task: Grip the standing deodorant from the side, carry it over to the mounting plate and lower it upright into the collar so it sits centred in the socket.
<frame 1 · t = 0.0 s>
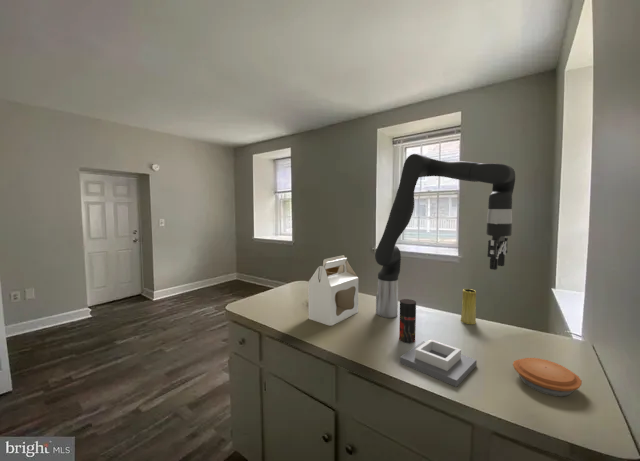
hand: (497, 267, 103), 29 cm above the worktop, tool pointing down, fingers open, 8 cm apart
pie: (544, 384, 83), on the worktop
deodorant: (407, 340, 111), on the worktop
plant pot: (337, 297, 165), on the worktop
camera mount: (437, 364, 94), on the worktop
vase: (468, 322, 128), on the worktop
gable box: (334, 316, 137), on the worktop
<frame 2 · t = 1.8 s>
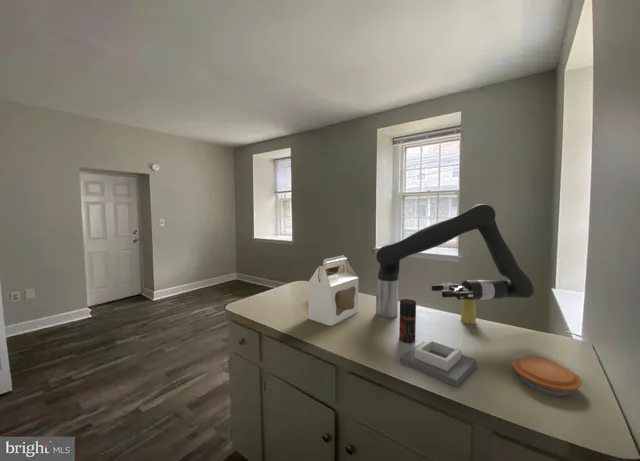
hand: (436, 291, 111), 19 cm above the worktop, tool horizontal, fingers open, 8 cm apart
nothing on the worktop moved.
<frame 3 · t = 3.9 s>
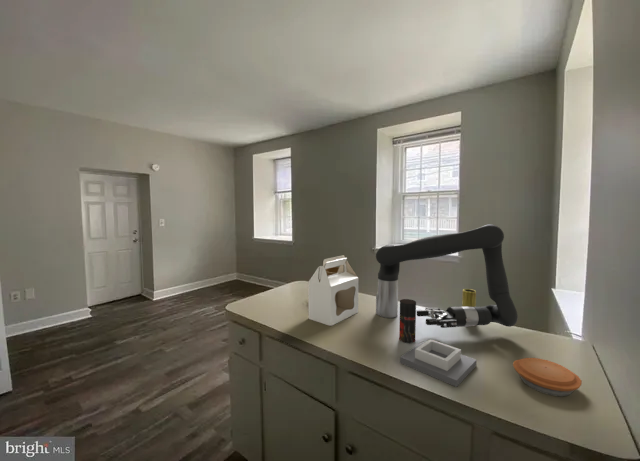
hand: (421, 317, 111), 9 cm above the worktop, tool horizontal, fingers open, 8 cm apart
nothing on the worktop moved.
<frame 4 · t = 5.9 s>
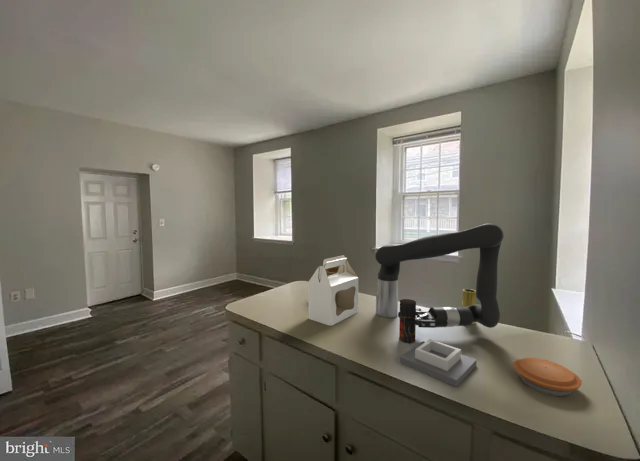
hand: (401, 318, 111), 9 cm above the worktop, tool horizontal, fingers closed on deodorant, 6 cm apart
deodorant: (407, 340, 111), on the worktop, touching gripper
everything else where it was.
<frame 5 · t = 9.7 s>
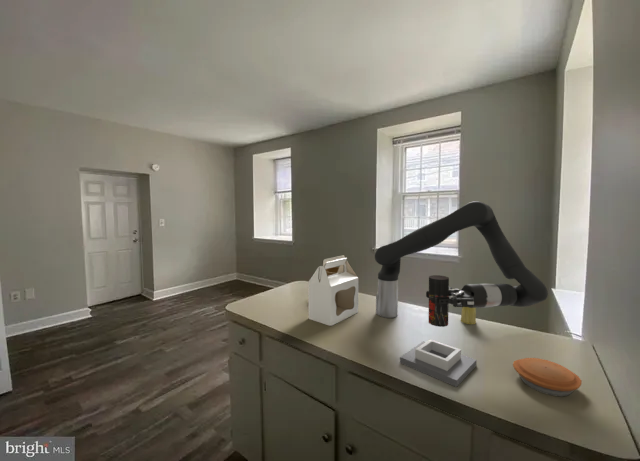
hand: (431, 297, 93), 22 cm above the worktop, tool horizontal, fingers closed on deodorant, 6 cm apart
deodorant: (438, 323, 94), point 13 cm above the worktop, touching gripper
everything else where it was.
when the fingers open (12 cm above the worktop, at t = 13.2 s): deodorant drops 1 cm, resting on camera mount.
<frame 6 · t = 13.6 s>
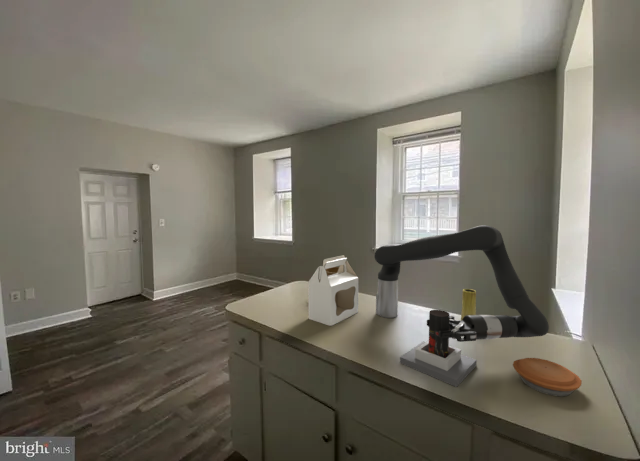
hand: (432, 328, 93), 12 cm above the worktop, tool horizontal, fingers open, 8 cm apart
deodorant: (438, 358, 94), point 2 cm above the worktop, touching camera mount
everything else where it was.
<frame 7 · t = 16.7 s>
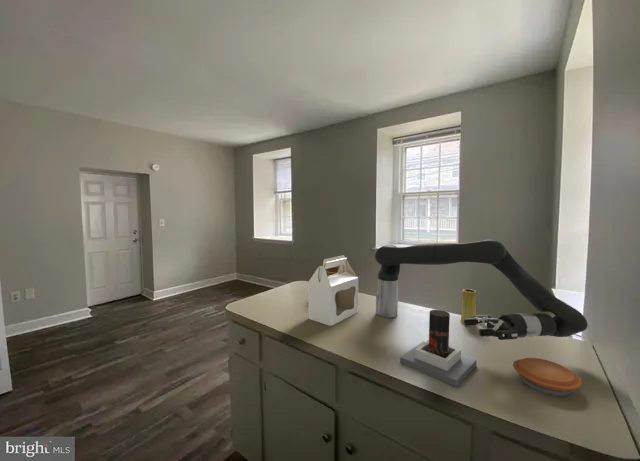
hand: (471, 327, 94), 12 cm above the worktop, tool horizontal, fingers open, 8 cm apart
nothing on the worktop moved.
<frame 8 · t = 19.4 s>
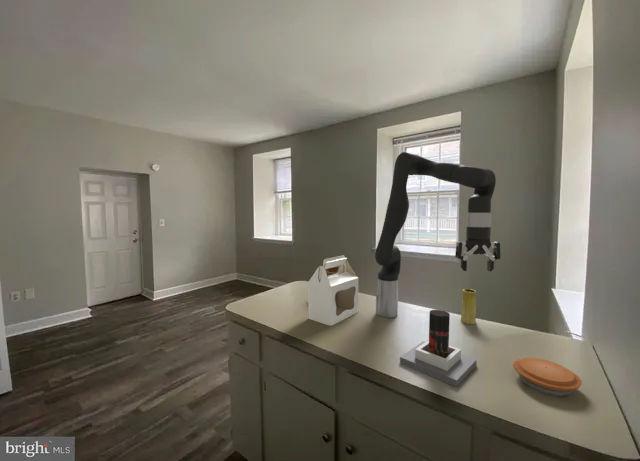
hand: (476, 270, 103), 28 cm above the worktop, tool pointing down, fingers open, 8 cm apart
nothing on the worktop moved.
at the end: deodorant 0.2 cm off-centre on the camera mount, point 1.8 cm above the camera mount's base; deodorant tilted 0°; the gripper is holding nothing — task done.
